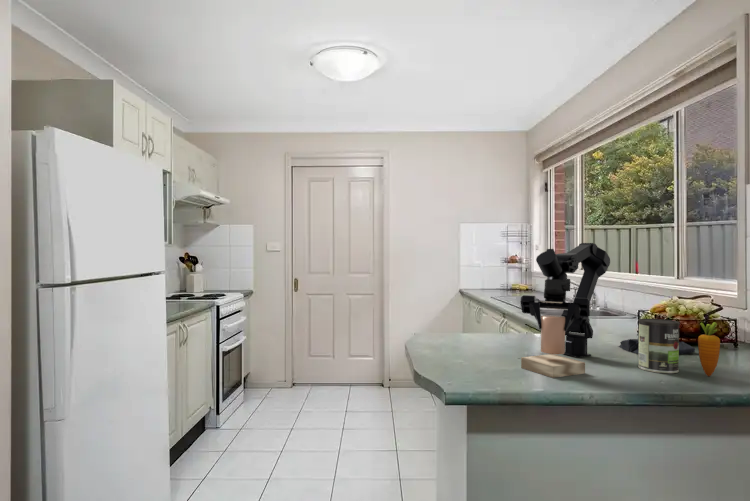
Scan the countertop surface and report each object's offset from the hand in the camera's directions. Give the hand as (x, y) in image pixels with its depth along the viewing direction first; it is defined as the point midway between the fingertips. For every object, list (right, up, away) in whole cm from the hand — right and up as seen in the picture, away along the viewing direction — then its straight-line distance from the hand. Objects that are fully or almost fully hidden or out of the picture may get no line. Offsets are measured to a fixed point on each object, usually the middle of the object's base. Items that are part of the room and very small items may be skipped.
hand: (552, 329), depth 136 cm
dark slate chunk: (+47, -13, +31) cm, 58 cm away
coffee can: (+32, -12, +4) cm, 35 cm away
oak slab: (0, -12, +1) cm, 12 cm away
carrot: (+42, -13, -3) cm, 44 cm away
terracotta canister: (+1, -7, +1) cm, 7 cm away
